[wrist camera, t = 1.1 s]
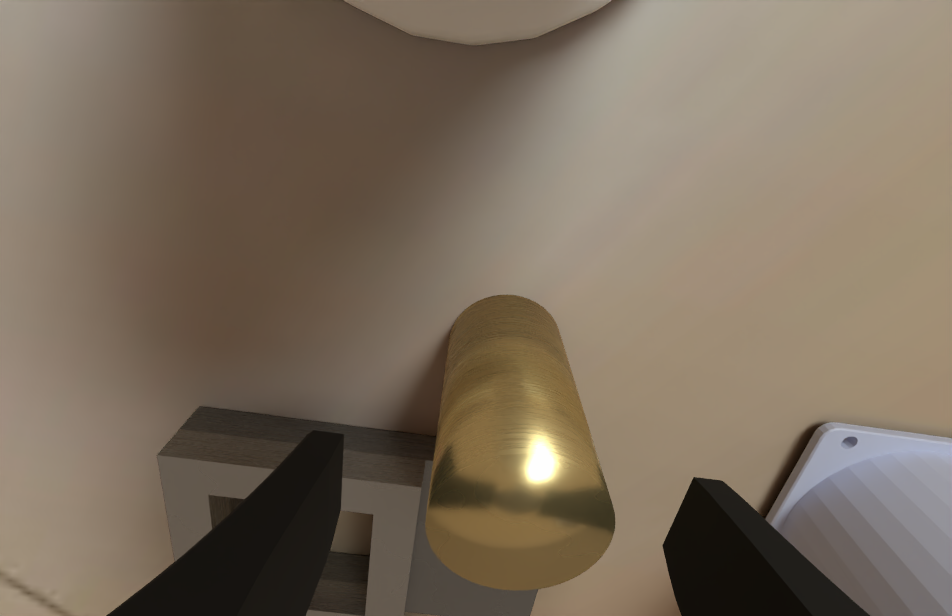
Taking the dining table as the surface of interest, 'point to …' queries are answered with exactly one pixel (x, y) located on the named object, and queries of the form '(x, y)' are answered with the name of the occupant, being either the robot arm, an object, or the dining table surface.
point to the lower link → (430, 582)
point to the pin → (514, 455)
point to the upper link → (363, 491)
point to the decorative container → (478, 17)
